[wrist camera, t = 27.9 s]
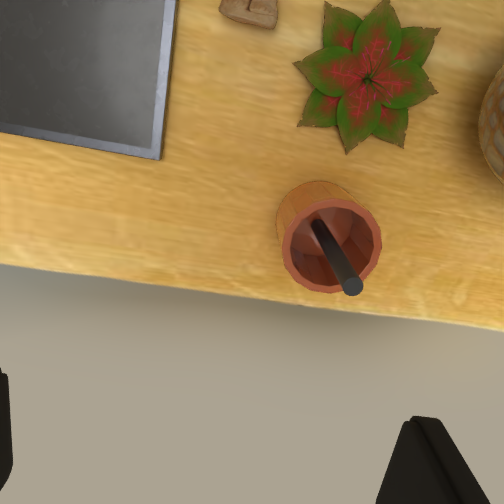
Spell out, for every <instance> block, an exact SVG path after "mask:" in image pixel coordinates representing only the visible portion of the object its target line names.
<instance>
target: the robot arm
mask: <svg viewBox="0 0 504 504" xmlns="http://www.w3.org/2000/svg"><path fill="white" fill-rule="evenodd" d="M9 402H10V401H9V385H8V376H7V374H5V373H2V372H1V368H0V491H1V489H2V488H3V486H4V484H5V483H6V481H7V479H8V478H9V475H10V473H11V470H12V466H13V453H12V438H11V419H10V403H9ZM376 504H490V502H489V500H488V499H487V497H486V495H485V494H484V492H483V490H482V489H481V487H480V485H479V484H478V482H477V480H476V479H475V477H474V475H473V474H472V472H471V470H470V469H469V467H468V465H467V464H466V462H465V460H464V459H463V457H462V455H461V454H460V452H459V450H458V449H457V447H456V445H455V444H454V442H453V440H452V439H451V437H450V435H449V434H448V432H447V430H446V429H445V427H444V425H443V424H442V422H441V421H440V420H439V419H437V418H430V417H421V416H413V417H412V418H411V419H410V421H405V422H404V423H403V425H402V428H401V431H400V434H399V436H398V439H397V442H396V445H395V448H394V451H393V453H392V456H391V460H390V462H389V465H388V468H387V471H386V473H385V477H384V479H383V482H382V485H381V488H380V491H379V493H378V496H377V499H376Z"/></svg>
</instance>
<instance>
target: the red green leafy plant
mask: <svg viewBox="0 0 504 504" xmlns="http://www.w3.org/2000/svg"><path fill="white" fill-rule="evenodd" d="M331 6H332V5H331V4H329V3H327V2H326V1H325V16H324V18H325V23H324V26H323V43H324V49H321V50H319V51H316V52H314V53H313V54H311V55H309V56H307V57H305V59H304V60H303V61H302V62H301V61H297V62H294V63H293V64H294V65H295V66H296V67H298V69H299V70H300V71H301V72H302V73H303V74H305V75H306V78H307V79H308V80H309V81H310V83H311V84H312V85H313V86H315V87H316V88H315V89H314V90H313V92H312V94H311V95H310V97H309V99H308V101H307V104H306V106H305V109H304V111H303V114H302V115H303V116H302V120H300V122H299V124H298V125H297V127H298V126H302V125H303V126H312V125H315V127H330V126H335V125H338V128H339V132H340V135H341V138H342V141H343V143H344V145H345V146H346V148H345V150H346V155H347V154H348V153H349V151H350V150H352V149H353V148H354V147H355V146H357V145H358V142H362V141H363V140H365V139H366V138H367V137H368V136H369V135H370V134H371V133H372V134H374V135H375V136H377V137H379V138H380V139H383V140H385V141H387V142H390V143H393V144H394V143H398V146H400V147H402V148H403V149H404V140H405V135H406V134H405V131H406V130H407V125H408V109H407V108H408V107H411V106H414V105H416V104H418V103H420V102H422V101H423V100H425V99H427V98H428V96H429V95H434V94H437V93H438V92H437V91H436V90H434V87H433V85H432V83H431V82H429V81H428V80H429V78H428V76H427V74H426V73H425V71H424V70H423V69H422V68H421V66H422V65H423V64H424V62H425V61H426V59H427V57H428V55H429V53H430V51H431V49H432V46H433V44H434V36H435V35H437V34H438V32H439V31H440V29H441V28H436V29H434V28H425V29H423V28H422V27H407V28H402V29H401V27H400V22H399V20H398V17H397V15H396V13H395V10H394V8H393V7H391V5H390V0H383V1H382V2H381V3H380V4H379V5H378V6H377V9H373V11H371V13H370V14H369V15H368V16H367V17H366V18H365V19H364V21H362V20H361V19H360V18H359V17H358V16H356V15H355V14H353V13H351V12H349V11H347V10H344V9H341V8H339V7H336V8H335V7H334V8H333V7H331Z"/></svg>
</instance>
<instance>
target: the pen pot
mask: <svg viewBox="0 0 504 504" xmlns="http://www.w3.org/2000/svg"><path fill="white" fill-rule="evenodd" d="M316 219H321V220H323V221H324V223H325V224H326V226H327V227H328V229H329V230H330V232H331V234H332V235H333V237H334V238H335V240H336V241H337V243H338V244H339V246H340V248H341V249H342V251H343V252H344V254H345V255H346V257H347V259H348V260H349V262H350V263H351V265H352V266H353V268H354V269H355V271H356V273H357V274H358V276H359V277H360V279H361V280H362V281H364V279H366V277H367V276H368V275H369V274H370V272H371V271H372V270H373V269H374V267H375V266H376V265H377V262H378V259H379V255H380V252H381V249H382V241H381V233H380V228H379V226H378V224H377V223H376V221H375V219H374V218H373V216H372V214H371V213H370V212H369V211H368V210H367V209H366V208H365V207H364V206H362V205H361V204H360V203H359V202H358V201H357V200H356V199H355V198H354V197H352V196H351V195H350V194H349V193H348V192H346V191H345V190H343V189H342V188H341V187H339V186H337V185H335V184H333V183H329V182H324V181H314V182H309V183H305V184H303V185H300V186H298V187H297V188H295V189H294V190H292V191H291V192H290V193H289V194H288V195H287V196H286V197H285V198H284V200H283V201H282V203H281V205H280V207H279V209H278V212H277V217H276V229H277V234H278V239H279V243H280V248H281V252H282V256H283V260H284V265H285V267H286V269H287V270H288V272H289V273H290V274H291V276H292V277H293V279H294V280H295V281H296V282H297V283H299V284H301V285H302V286H304V287H306V288H307V289H309V290H312V291H317V292H323V293H335V292H340V291H343V289H342V287H341V285H340V283H339V281H338V279H337V277H336V275H335V273H334V271H333V269H332V267H331V266H330V264H329V262H328V260H327V258H326V256H325V254H324V252H323V250H322V248H321V246H320V244H319V242H318V240H317V238H316V236H315V234H314V232H313V230H312V228H311V224H312V222H313V221H314V220H316Z"/></svg>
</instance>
